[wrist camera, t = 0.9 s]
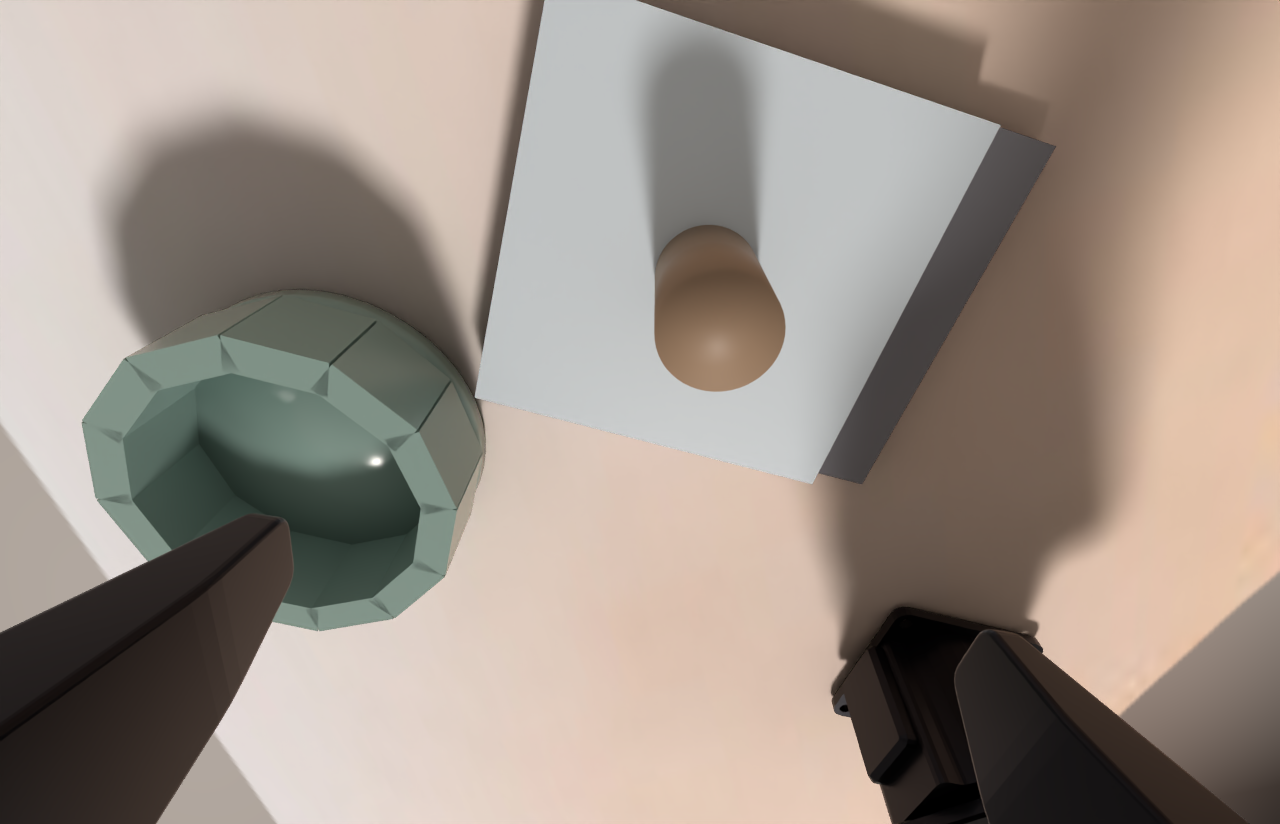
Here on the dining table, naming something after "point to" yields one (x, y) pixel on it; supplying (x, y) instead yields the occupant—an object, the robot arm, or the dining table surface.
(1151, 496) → the dining table surface
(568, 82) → the lid
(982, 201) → the mat
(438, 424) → the bowl
